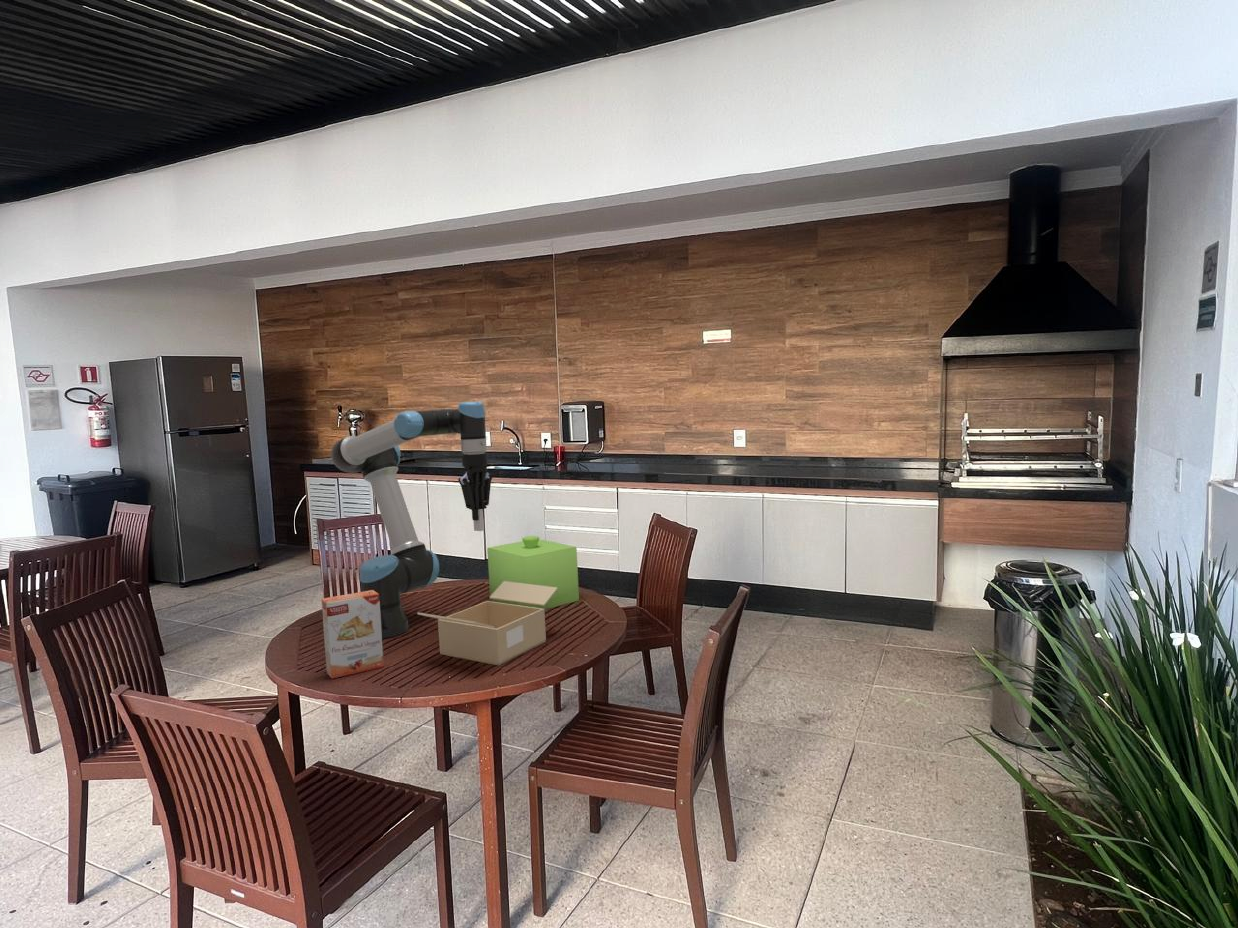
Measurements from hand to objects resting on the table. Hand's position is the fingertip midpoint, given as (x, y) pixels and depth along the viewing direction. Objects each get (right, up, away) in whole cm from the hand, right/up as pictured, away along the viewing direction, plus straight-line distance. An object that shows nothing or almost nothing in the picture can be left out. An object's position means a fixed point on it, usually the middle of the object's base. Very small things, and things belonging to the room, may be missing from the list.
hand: (479, 530), depth 224 cm
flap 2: (+11, -22, -2) cm, 25 cm away
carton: (+6, -33, -10) cm, 35 cm away
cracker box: (-29, -36, -24) cm, 52 cm away
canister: (+12, -29, +39) cm, 50 cm away
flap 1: (0, -24, -20) cm, 31 cm away
